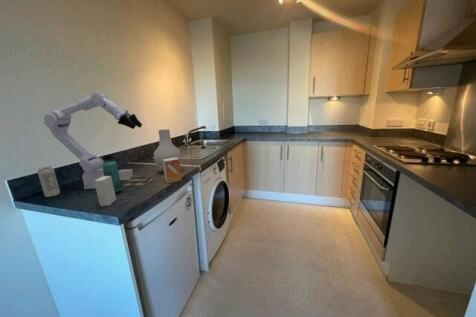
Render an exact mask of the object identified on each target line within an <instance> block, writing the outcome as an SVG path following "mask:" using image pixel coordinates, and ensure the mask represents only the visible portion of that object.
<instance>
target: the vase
mask: <svg viewBox="0 0 476 317" xmlns="http://www.w3.org/2000/svg"><path fill="white" fill-rule="evenodd" d="M157 132H158V136H159V145H158V146H157V148H156V149H155V150H154V152H153V160H154V162H155V164H156V167H157V168H159V169H160V170H163V171H164V169H163V162H162V159H168V158H174V157H177V158H178V159H179V162H180V163H181V151H180V149H179V148H178V147H177V146H176V145H174V144H173V141H172V138H171V132H170V129H158V131H157Z"/></svg>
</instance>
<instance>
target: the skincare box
mask: <svg viewBox="0 0 476 317" xmlns="http://www.w3.org/2000/svg"><path fill="white" fill-rule="evenodd" d="M94 183H95V187H96V188H95V191H96V194H97V199H98V203H99V206H100V207H107V206H109V207H110V206H111V205H112V204H114V202H115V201H117V197H116V192H114V187H113V183H112V178H111V176H102V177H100V178H98V179H97V180H95V181H94Z"/></svg>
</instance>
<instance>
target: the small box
mask: <svg viewBox="0 0 476 317" xmlns="http://www.w3.org/2000/svg"><path fill="white" fill-rule="evenodd" d="M162 162H163V169H164V170H163V176H164V182H166V183H167V184H171V183H177V182H181V181H182V180H183V179H182V173H181V172H182V171H181V164H180V163H181V161H180V162H179V159H178V158H177V157H174V158H168V159H162Z"/></svg>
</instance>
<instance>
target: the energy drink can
mask: <svg viewBox="0 0 476 317" xmlns="http://www.w3.org/2000/svg"><path fill="white" fill-rule="evenodd" d="M55 172H56V171H55V169H54V168H53V167H52V166H50V165H49V166H43V167H42V166H41V167H39V168H38V170H37V175H38V178H39V181H40V185H41V187H42V188H41V189H42V191H43V195H44V197H46V198H47V197H51V196H55V197H57V196H56V195H58V194H59V195H60V194H61V190H60V186H59V183H58V179H57V175H56V173H55ZM59 195H58V196H59ZM51 198H52V197H51Z"/></svg>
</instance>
